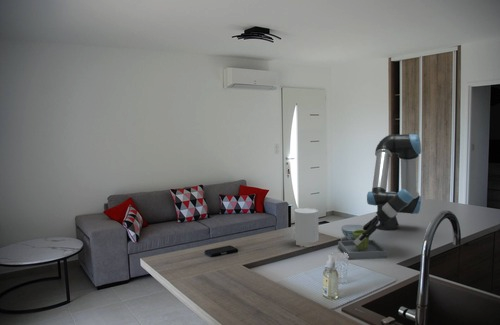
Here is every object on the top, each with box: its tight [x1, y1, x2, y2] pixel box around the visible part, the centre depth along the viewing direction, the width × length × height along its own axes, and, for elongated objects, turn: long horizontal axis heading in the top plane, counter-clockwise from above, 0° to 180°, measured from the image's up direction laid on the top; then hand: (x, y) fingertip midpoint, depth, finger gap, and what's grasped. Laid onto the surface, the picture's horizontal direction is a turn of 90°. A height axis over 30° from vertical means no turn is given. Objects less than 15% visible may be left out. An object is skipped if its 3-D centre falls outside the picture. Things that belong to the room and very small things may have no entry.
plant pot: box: [353, 230, 371, 250], centre depth 208 cm, size 9×9×9 cm
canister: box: [294, 207, 319, 243], centre depth 225 cm, size 14×14×20 cm
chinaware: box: [341, 224, 364, 241], centre depth 229 cm, size 15×15×8 cm
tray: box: [337, 239, 388, 260], centre depth 208 cm, size 20×20×4 cm
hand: (355, 240), depth 209 cm, fingers closed on plant pot, 9 cm apart
